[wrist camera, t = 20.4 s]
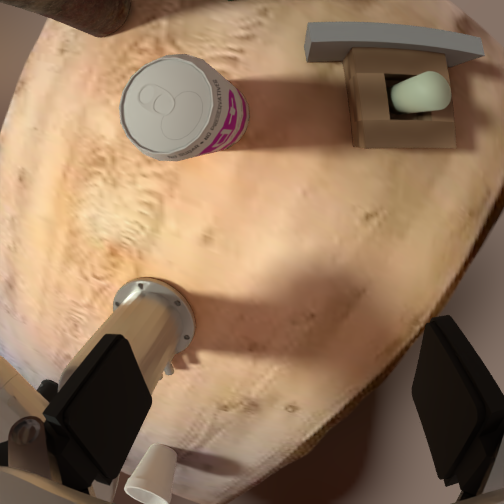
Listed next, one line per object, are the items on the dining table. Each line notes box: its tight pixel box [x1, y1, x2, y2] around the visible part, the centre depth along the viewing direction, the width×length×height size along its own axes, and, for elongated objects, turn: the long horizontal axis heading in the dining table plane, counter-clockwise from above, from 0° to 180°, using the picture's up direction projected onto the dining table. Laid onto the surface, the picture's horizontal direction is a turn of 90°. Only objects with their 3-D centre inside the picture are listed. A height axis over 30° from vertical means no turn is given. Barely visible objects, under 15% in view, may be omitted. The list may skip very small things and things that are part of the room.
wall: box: [304, 22, 485, 67], centre depth 24 cm, size 2×18×8 cm, turn 98°
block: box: [342, 47, 456, 149], centre depth 27 cm, size 10×10×6 cm
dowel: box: [386, 71, 451, 115], centre depth 23 cm, size 3×3×10 cm
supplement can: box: [119, 54, 250, 161], centre depth 26 cm, size 8×8×15 cm
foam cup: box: [124, 444, 177, 504], centre depth 51 cm, size 10×9×13 cm
